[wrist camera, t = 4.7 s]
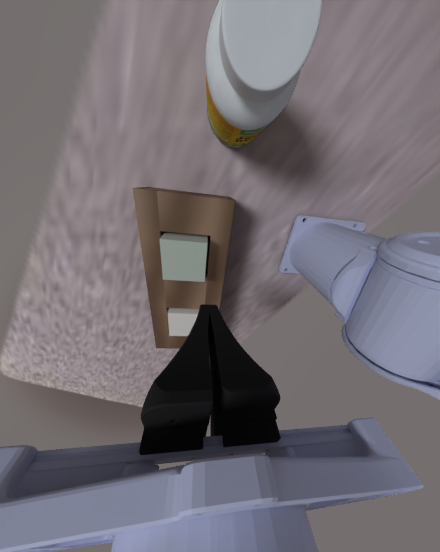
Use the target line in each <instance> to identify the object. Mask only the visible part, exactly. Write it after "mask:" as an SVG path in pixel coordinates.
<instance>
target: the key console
mask: <svg viewBox="0 0 440 552" xmlns="http://www.w3.org/2000/svg"><path fill="white" fill-rule="evenodd" d="M133 194H134V200H135V207H136V214H137V221H138V227H139V234H140V241H141V248H142V254H143V261H144V268H145V275H146V282H147V288H148V295H149V302H150V309H151V315H152V322H153V329H154V336H155V342H156V348H181V346H182V345H183V343H184V342H185V340H186V339H187V337H188V336H169V325H168V310H169V308H188V309H199V308H200V305H201V304H206V305H217V306H218V309H219V308H220V302H221V295H222V288H223V281H224V274H225V267H226V261H227V254H228V247H229V240H230V233H231V227H232V220H233V213H234V206H235V200H234V199H232V198H231V197H226V196H217V195H209V194H201V193H193V192H185V191H177V190H168V189H160V188H152V187H140V188H133ZM165 232H176V233H187V234H198V235H208V243H207V257H206V270H205V282H196V281H178V280H163V275H162V263H161V251H160V240H159V239H160V238H161V237H162V235H163V234H164V233H165Z"/></svg>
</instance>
